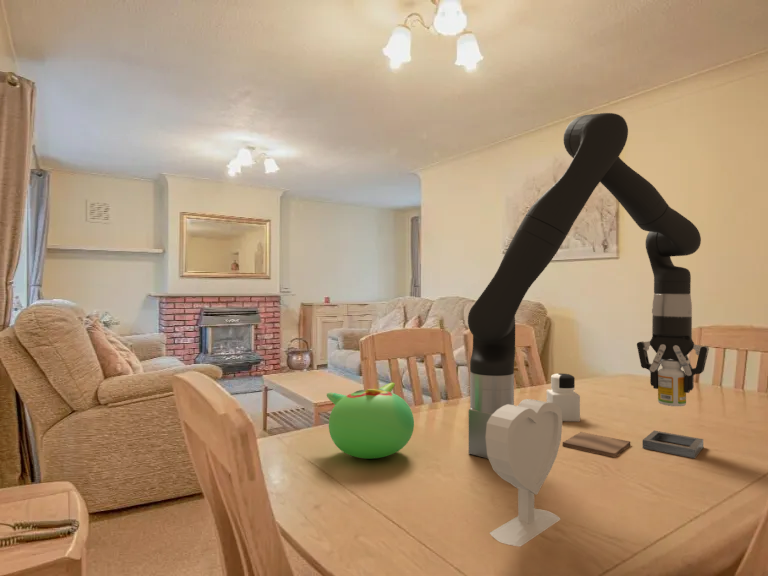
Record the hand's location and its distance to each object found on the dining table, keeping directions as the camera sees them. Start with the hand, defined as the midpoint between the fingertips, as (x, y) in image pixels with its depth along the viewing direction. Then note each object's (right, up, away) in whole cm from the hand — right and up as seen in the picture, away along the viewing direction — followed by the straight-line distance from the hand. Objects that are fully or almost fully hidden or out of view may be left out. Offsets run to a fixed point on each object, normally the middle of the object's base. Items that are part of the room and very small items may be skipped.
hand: (671, 389), depth 106 cm
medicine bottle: (-15, -13, +25) cm, 32 cm away
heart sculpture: (-43, -13, -36) cm, 57 cm away
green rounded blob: (-67, -13, -5) cm, 68 cm away
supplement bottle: (0, -3, 0) cm, 3 cm away
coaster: (-16, -13, +1) cm, 21 cm away
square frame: (0, -13, 0) cm, 13 cm away
